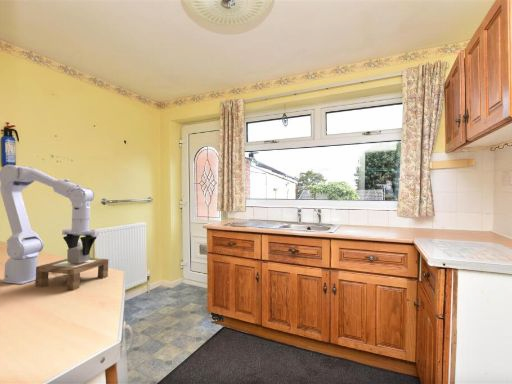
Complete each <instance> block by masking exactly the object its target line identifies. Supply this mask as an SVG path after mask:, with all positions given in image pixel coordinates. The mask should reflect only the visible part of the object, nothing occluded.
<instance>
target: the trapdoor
mask: <svg viewBox="0 0 512 384" xmlns="http://www.w3.org/2000/svg"><path fill="white" fill-rule="evenodd" d="M95 261H96V260H87V261H84V262H82V263H68V262H67V261H65V262H61V263H58V264H54V265H51V266H60V267H71V268H75V267H79V266H82V265H85V264H88V263H91V262H95Z"/></svg>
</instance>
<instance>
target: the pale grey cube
mask: <svg viewBox="0 0 512 384" xmlns="http://www.w3.org/2000/svg"><path fill="white" fill-rule="evenodd" d="M90 258H91V251H90V252H89V255H83V246H82V245H80V246H78V247H74V248H71V249H69V248H68V249H67V258H66V259H67V262H68V263H82V262H84V261H87V260H90Z"/></svg>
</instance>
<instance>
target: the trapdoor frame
mask: <svg viewBox="0 0 512 384" xmlns="http://www.w3.org/2000/svg"><path fill="white" fill-rule="evenodd" d="M90 260H96V261H95V262H91V263H88V264H85V265H82V266H79V267H75V268H71V267H60V266H51V265H54V264H58V263H61V262H65V261H67V258H65V259H61V260H57V261H54V262H49V263H46V264H42V265H37V267H36V280H35V283H34V284H35V287H38V288H39V287H40V288H42V287H44V286H47V285H49V273H54V274H64V275H67V286H66V287H67V289H66V290H68V291H76V290H78V289H80V285H81V281H80V280H81V273H83V272H85V271H89V270H92V269H94V268H97V278H98V279H105V278H107V277H108V276H109V258H99V257H98V258H97V257H90Z"/></svg>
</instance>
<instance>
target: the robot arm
mask: <svg viewBox="0 0 512 384" xmlns="http://www.w3.org/2000/svg"><path fill="white" fill-rule="evenodd" d="M35 181H36V182H39V183H41V184H43V185H46V186H48V187H51V188H52V189H53V192H54V193H56V194H59V195H61V196H64V197H65V198H66V199H69V200H70V202H71V207H72V208H71V209H72V210H71V212H72V213H71V229H70V228H68V229H67V228H66V229H62V232H61V234H62V236H63V237H62V238H63V240H64V241H65V243H66V245H67V247H68V249H71V248H74V247H77V244H78V240H81V242H82V245H81V246H83V255H89V252H90V253H91V248H93V247H92V246H93V244H94V243H95V240H96V239H97V238H98V237H99V236H100V234H99V233H100V231H99V230H92V229H90V227H91V226H90V223H91V222H90V221H91V203H92V201H93V200H94V198H95V193H94V192H93V190H91V188H88V187H85V188H84V187H82V184H81V185H80V184H76V183H73V182H71V179H68V178H65V179H64V178H61V179H57V178H56V177H53V176H52V175H49V174H47V173H46V172H44V171H42V170H40V169H37V168H34V167H32V166H21V165H14V164H5V165H4V166H3V167H1V169H0V195H1V198H2V202H3V205H4V208H5V213H6V215H7V219H8V222H9V226H10V230H11V233H12V235H11V236H10V237H8V239H7V240H6V244H7V246H6V254H7V255H8V257H9V258H8V259H7V260H6V262H5V264H4V279H3V280H1V283H9V284H17V285H23V284H27V283H29V282H30V283H31V282H33V281H36V267H37V266H39V265H38V261H39V255H40V253H41V252H42V250H43V249H44V241H43V239H41V238H40V236H39V233H38V232H36V231H34V230H32V226H31V223H30V220H29V219H30V218H29V215H28V212H27V209H26V205H25V202H24V198H23V195H22V192H23V190H25V189H26V188H28V187H29V186H30V185H32V184H33V183H34V182H35Z"/></svg>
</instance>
